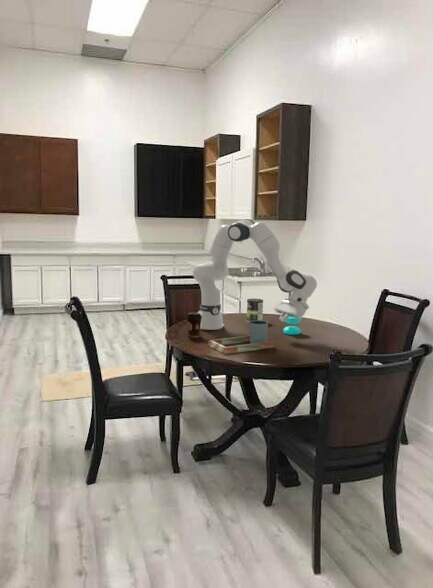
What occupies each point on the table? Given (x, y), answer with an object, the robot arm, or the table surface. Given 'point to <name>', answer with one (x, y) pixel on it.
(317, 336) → the table surface
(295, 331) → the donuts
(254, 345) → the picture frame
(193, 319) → the coffee cup
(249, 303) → the coffee can
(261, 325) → the grey-blue cylinder
